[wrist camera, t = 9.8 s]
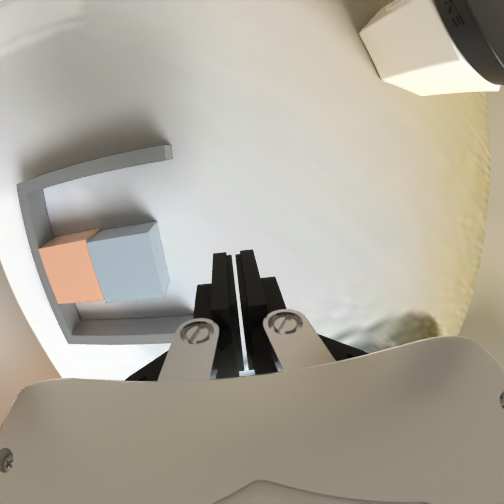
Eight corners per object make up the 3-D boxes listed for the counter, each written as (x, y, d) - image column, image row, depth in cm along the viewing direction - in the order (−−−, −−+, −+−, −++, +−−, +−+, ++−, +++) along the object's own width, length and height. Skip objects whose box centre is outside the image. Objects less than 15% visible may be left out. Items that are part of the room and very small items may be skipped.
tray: (33, 179, 17) (16, 184, 15) (171, 145, 18) (164, 144, 15) (77, 328, 22) (68, 343, 20) (199, 323, 23) (198, 341, 21)
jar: (386, -1, 14) (468, -47, 3) (444, 59, 16) (536, 47, 5) (342, 47, 16) (441, -10, 5) (411, 113, 18) (524, 115, 7)
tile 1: (101, 230, 20) (86, 242, 17) (157, 220, 20) (148, 232, 17) (117, 284, 22) (105, 302, 19) (170, 278, 22) (164, 297, 19)
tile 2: (56, 236, 19) (38, 249, 16) (100, 227, 20) (85, 239, 17) (72, 287, 21) (58, 304, 18) (116, 282, 21) (104, 300, 19)
